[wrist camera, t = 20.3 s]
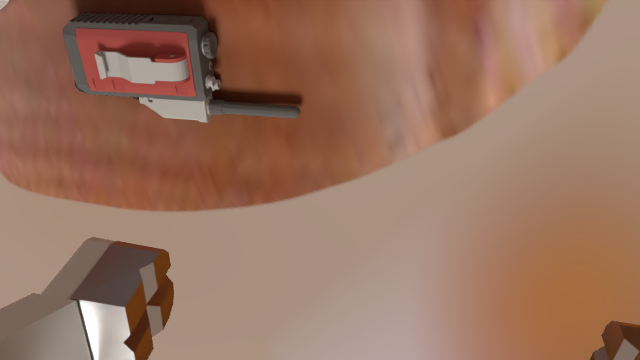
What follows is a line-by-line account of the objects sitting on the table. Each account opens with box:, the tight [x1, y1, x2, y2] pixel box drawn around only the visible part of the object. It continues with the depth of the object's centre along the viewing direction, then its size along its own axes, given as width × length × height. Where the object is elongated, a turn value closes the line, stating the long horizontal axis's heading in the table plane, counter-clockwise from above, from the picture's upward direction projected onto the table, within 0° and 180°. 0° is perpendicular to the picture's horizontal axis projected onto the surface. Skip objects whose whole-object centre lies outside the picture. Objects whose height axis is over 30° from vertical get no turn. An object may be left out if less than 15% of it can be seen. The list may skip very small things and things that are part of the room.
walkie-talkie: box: [63, 12, 300, 122], centre depth 46 cm, size 9×4×20 cm
